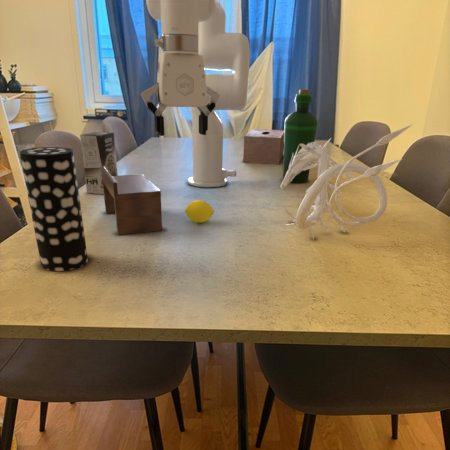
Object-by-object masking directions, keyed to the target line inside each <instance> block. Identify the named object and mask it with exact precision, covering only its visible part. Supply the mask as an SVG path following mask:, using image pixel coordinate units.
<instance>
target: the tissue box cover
mask: <svg viewBox="0 0 450 450" xmlns="http://www.w3.org/2000/svg"><path fill="white" fill-rule="evenodd" d="M242 157H243V159H242V160H243V161H242V163H251V164H267V165H279V164H280V163H281V160H282V157H284V129H265V128H252V129H251V130H250V131H248V132H247V133H246V134H245V135H244V136H243V156H242Z"/></svg>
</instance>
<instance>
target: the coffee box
mask: <svg viewBox="0 0 450 450" xmlns="http://www.w3.org/2000/svg"><path fill="white" fill-rule="evenodd" d="M79 136H80V146H81V154H82V161H83V162H82V163H83V171H84V179H85V189H86V193H87V194H97V195H104V192H103V182H102V173H101V166H104V167H105V168H106V169H107V171H108V172H109V173H110V175H111V176H119V174H118V173H119V172H118V163H117V152H116V140H115V132H113V131H92V132H88V133H83V134H80V135H79Z"/></svg>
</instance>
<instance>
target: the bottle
mask: <svg viewBox="0 0 450 450" xmlns="http://www.w3.org/2000/svg"><path fill="white" fill-rule="evenodd" d="M312 99H313V97H312V94H311V93H310V89H302V88H301V89H298V93H296V94H295V98H294V103H295V111H292V112H291V113H290V114H288V115H287V116H286V117H285V119H284V128H283V130H284V152H283V162H282V163H283V164H282V180H283V179H284V177H285V174H286V172H287V171H288V168H289V164H290V161H291V158H292V160H293V158H294V155H295V153H296V151H297V148H298V146H299V148H298V151H297V153H298V152H299V151H300V149H302V147H301V146H300V145H299V144H301V143H302V144H304V145H307V144H309V143H311V142H315V143H316V136H317V129H318V124H319V122H318V120H317V117H316V116H315V115H314V114H312V113H311V112H310V111H309V110H310V105H311V104H312V102H313V101H312ZM312 144H313V143H312ZM292 154H293V157H292ZM296 155H297V154H296ZM291 163H292V161H291ZM309 165H310V164H309ZM310 170H311V168H310V169H307V170H305V171H304V170H303V171H301V172H300V173H299V174H297V175H296V176H295V177H294V178H293V180H292V181H291V182H290V183H289V184H304V183H306V182H308V181H309V176H310Z"/></svg>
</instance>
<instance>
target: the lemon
mask: <svg viewBox="0 0 450 450" xmlns="http://www.w3.org/2000/svg"><path fill="white" fill-rule="evenodd" d="M184 213H185V215H186V216H187V218H188V219H189V220H190V221H192V222H194V223H196V224H199V223H206V222H207V221H208V220H210V219H211V217H213V215H214V213H215V210H214V209H213V208H212V206H211V205H210V204H209V203H208V202H207V201H205V200H201V199H196V200H192V201H191V202H189V203H188V204H187V206H186V207H185V210H184Z"/></svg>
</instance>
